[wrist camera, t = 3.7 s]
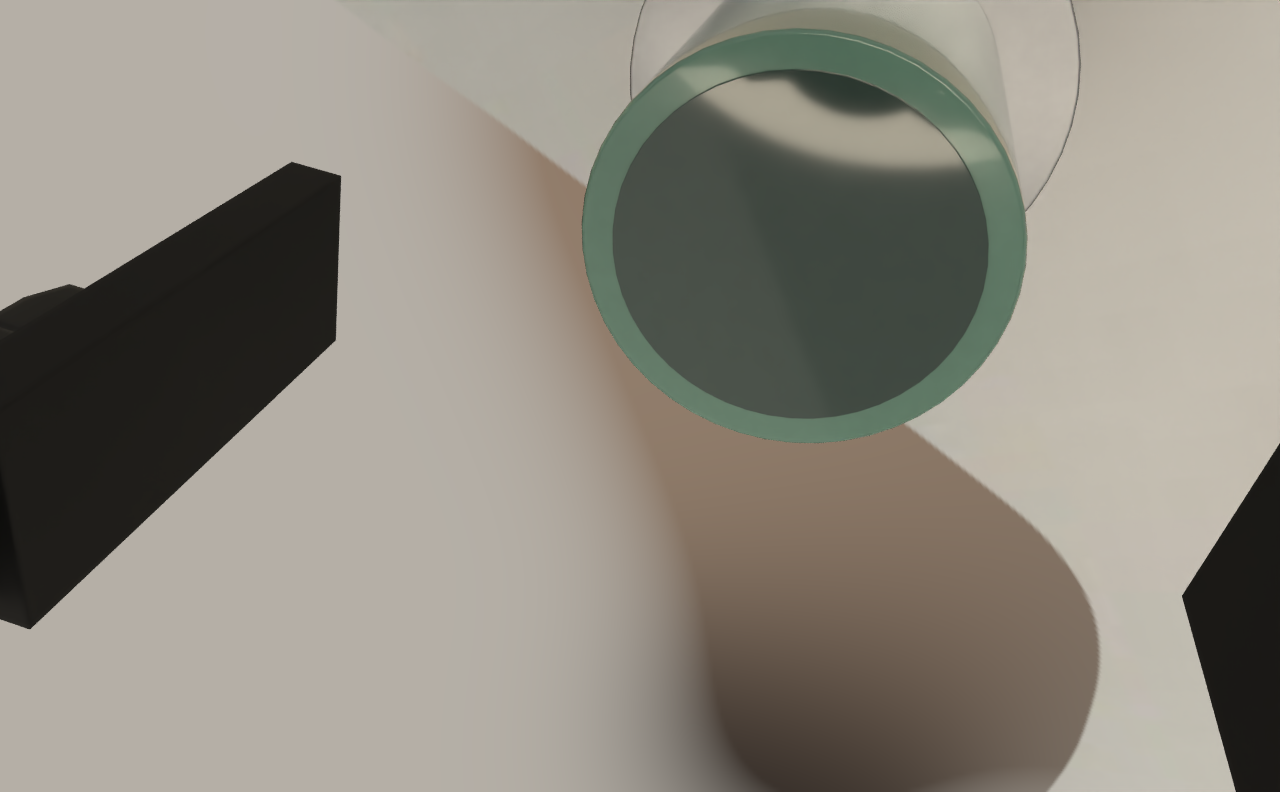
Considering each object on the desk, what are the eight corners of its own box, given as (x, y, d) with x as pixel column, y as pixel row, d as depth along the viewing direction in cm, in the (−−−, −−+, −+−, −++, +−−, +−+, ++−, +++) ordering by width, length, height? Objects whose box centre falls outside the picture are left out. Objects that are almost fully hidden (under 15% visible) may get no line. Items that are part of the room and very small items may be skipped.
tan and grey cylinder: (702, -178, 42) (547, -136, 26) (1052, -253, 38) (1129, -259, 22) (748, 141, 48) (646, 338, 32) (1054, 105, 44) (1116, 308, 28)
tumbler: (673, -38, 26) (535, 66, 18) (996, -94, 24) (1023, -7, 15) (720, 247, 30) (625, 451, 21) (1005, 222, 28) (1032, 440, 19)
